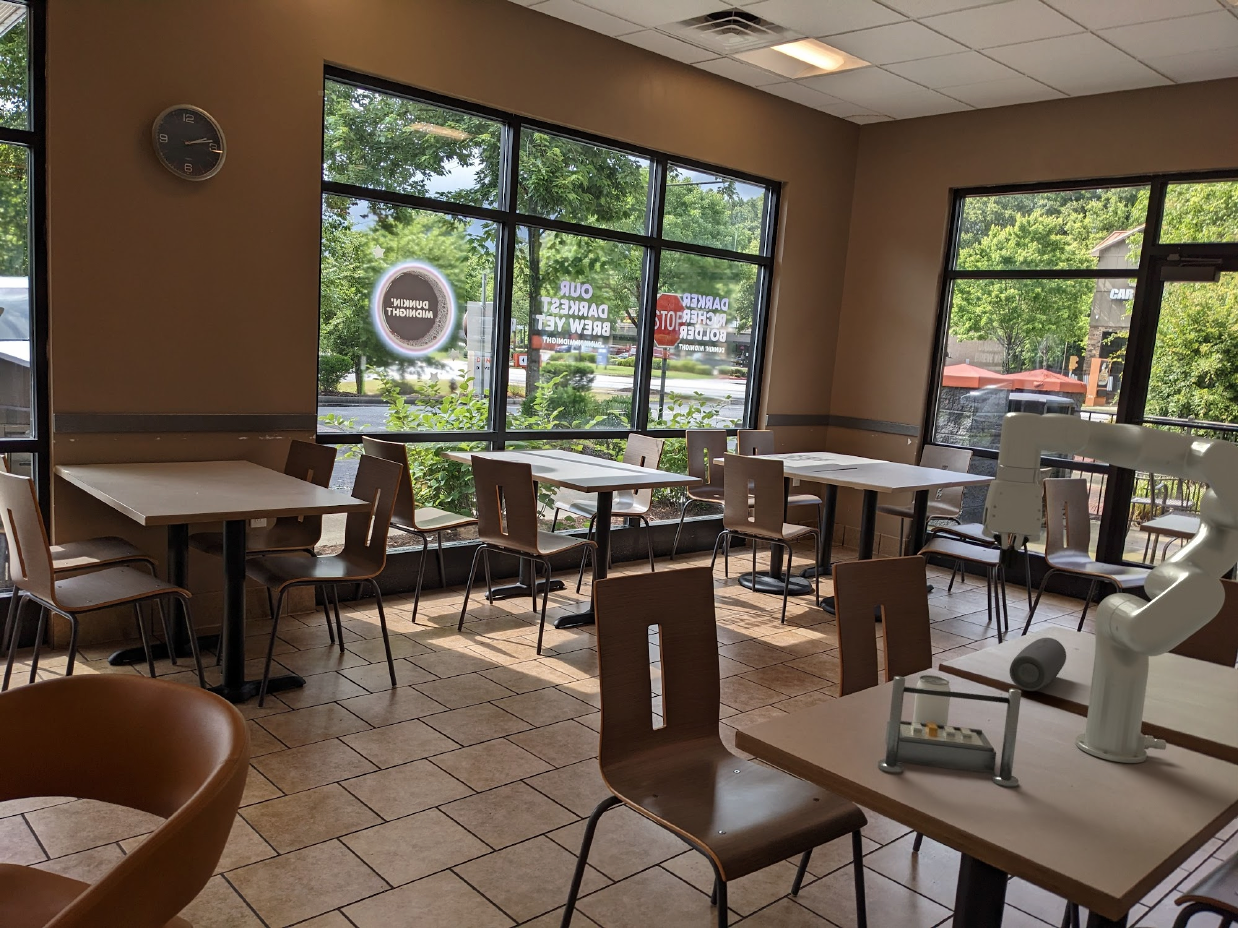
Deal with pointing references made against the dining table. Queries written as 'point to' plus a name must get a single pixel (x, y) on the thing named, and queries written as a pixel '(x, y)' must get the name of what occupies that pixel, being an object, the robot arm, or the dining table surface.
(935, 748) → the breaker panel
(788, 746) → the dining table surface
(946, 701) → the can
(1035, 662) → the bluetooth speaker
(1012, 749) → the cord stand
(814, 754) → the dining table surface
